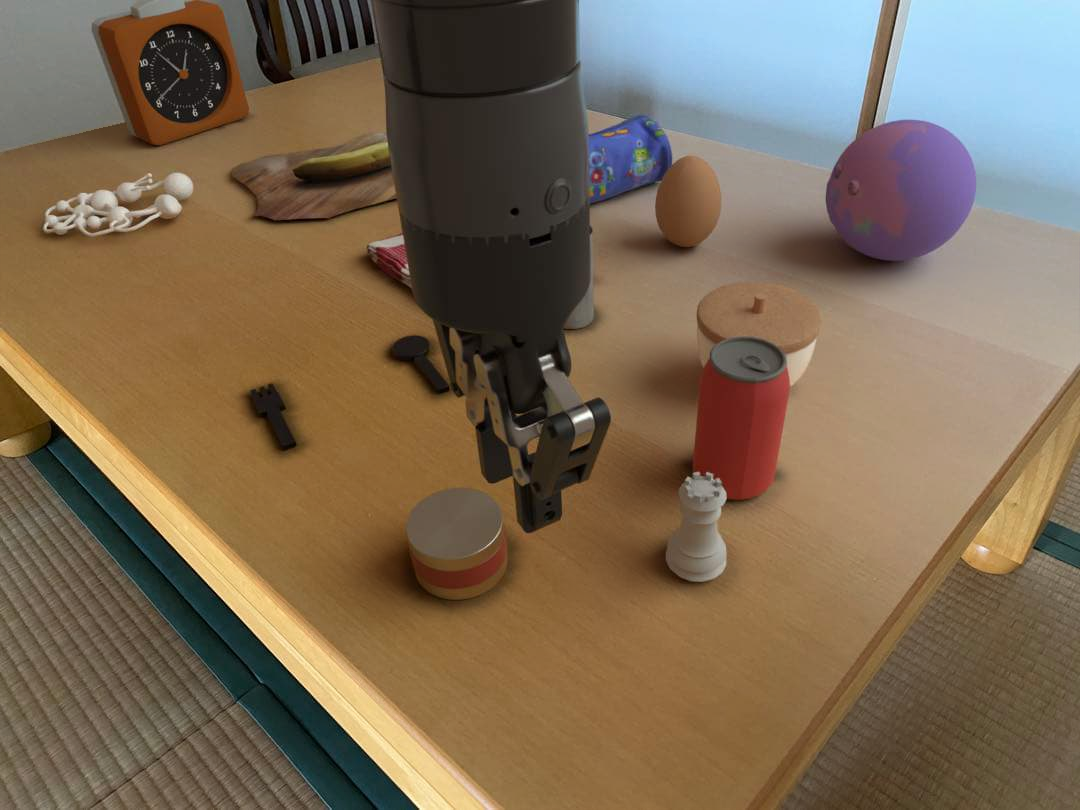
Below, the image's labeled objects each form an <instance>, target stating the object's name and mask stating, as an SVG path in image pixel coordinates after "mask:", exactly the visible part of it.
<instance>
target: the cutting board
mask: <svg viewBox="0 0 1080 810" xmlns="http://www.w3.org/2000/svg"><path fill="white" fill-rule="evenodd" d="M231 177H232V178H234V179H235V180H237V181H239V182H240V183H241V184H243V185H244V186H246V187H247V188H248V189H249V190H250V191H251V192H252V193H253V195H255V196H256V201H257V202H256V203H257V209H256V211H255V212H254V213H253V214H251V217H255V216H259V217H260V216H261V217H263V218H267V219H271V220H274V221H283V220H284V221H286V220H296V219H297V220H300V219H331V218H332V217H335V216H338V215H341V214H344V213H348V212H351V211H354V210H357V209H361V208H364V207H368V206H372V205H376V204H380V203H383V202H387V201H391V200H394V199H397V197H396V191H395V185H394V180H393V174H392V168H391V162H390V156H389V149H388V142H387V132H386V133H385V132H384V133H383V132H374V133H369V134H364V135H362V136H359V137H357V138H355V139H353V140H350V141H349V142H346V143H343V144H340V145H337V146H333V147H325V148H317V149H309V150H303V151H297V152H292V153H286V154H280V155H272V156H265V157H261V158H257V159H253V160H249V161H246V162H242V163H240V164H238V165H236V166H234V167H233V168H231Z"/></svg>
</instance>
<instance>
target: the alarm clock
mask: <svg viewBox="0 0 1080 810" xmlns="http://www.w3.org/2000/svg"><path fill="white" fill-rule="evenodd" d="M91 33H92V35H93V38H94V41H95V44H96V46H97V50H98V53H99V54H100V57H101V60H102V63H103V66H104V68H105V71H106V74H107V77H108V79H109V82H110V85H111V88H112V91H113V93H114V96H115V98H116V102H117V104H118V106H119V109H120V112H121V114H122V117H123V120H124V123H125V125H126V128H127V130H128V132H129V133H130V134H131V135H132V136H134V137H135V138H138V139H140V140H142V141H144V142H146V143H148V144H150V145H152V146H160V147H161V146H163V145H166V144H169V143H171V142H175V141H178V140H181V139H185V138H187V137H191V136H193V135H197V134H199V133H203V132H206V131H208V130H209V131H210V130H212V129H215V128H218V127H221V126H224V125H226V124H230V123H233V122H236V121H239V120H243V119H244V118H246V117H247V116H248V115H249V112H250V106H249V103H248V99H247V95H246V92H245V88H244V84H243V80H242V76H241V73H240V70H239V66H238V62H237V59H236V55H235V51H234V47H233V42H232V39H231V36H230V33H229V29H228V25H227V21H226V18H225V15H224V11H223V9H222V8H221V7H220V5H219V4H217V3H213V2H210V1H209V2H208V1H206V0H205V1H204V0H137V1H136V2H135V3H133V4H132V5H131V6H130V10H128V11H124V12H119V13H116V14H115V13H114V14H111V15H106V16H102V17H98V18H96V19H95V20H94V21H92V22H91Z"/></svg>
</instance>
